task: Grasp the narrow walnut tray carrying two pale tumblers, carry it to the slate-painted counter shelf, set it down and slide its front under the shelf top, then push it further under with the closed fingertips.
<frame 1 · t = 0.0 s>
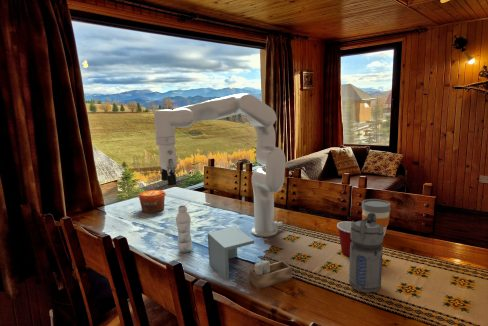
hand: (168, 182, 136), 31 cm above the table, fingers open, 9 cm apart
beverage bottle: (365, 285, 114), on the table
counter: (231, 267, 129), on the table
food container: (153, 210, 201), on the table
plastic cup: (349, 253, 137), on the table
reusable coffee cup: (374, 233, 156), on the table
plastic bottle: (185, 251, 144), on the table
tray: (271, 280, 118), on the table
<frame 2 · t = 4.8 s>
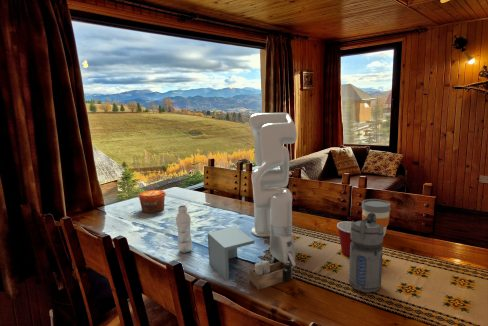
hand: (281, 275, 120), 1 cm above the table, fingers closed on tray, 6 cm apart
tray: (271, 280, 118), on the table, touching gripper
everything else where it was.
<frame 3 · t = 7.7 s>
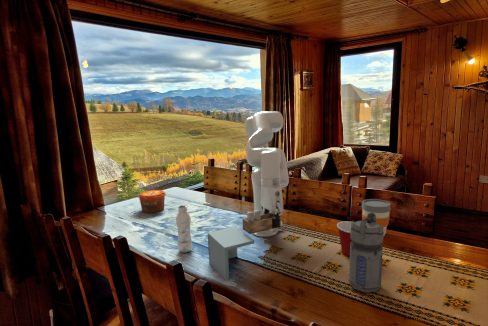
hand: (271, 224, 134), 14 cm above the table, fingers closed on tray, 6 cm apart
tray: (261, 228, 132), point 13 cm above the table, touching gripper
everything else where it was.
when the fingers open (1 cm above the table, at t = 10.8 s): tray stays where it is, on the table.
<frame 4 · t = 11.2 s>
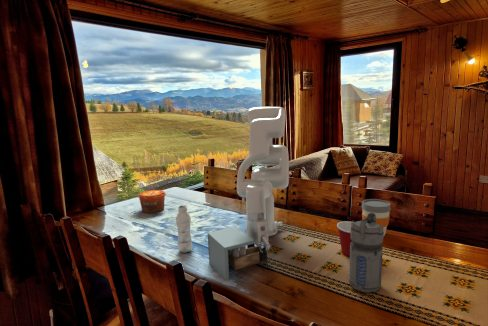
hand: (257, 255, 134), 2 cm above the table, fingers open, 9 cm apart
tray: (247, 262, 132), on the table
everything else where it was.
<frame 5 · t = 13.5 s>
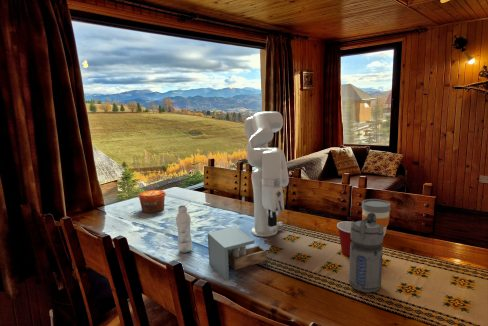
hand: (272, 225, 135), 13 cm above the table, fingers closed
nothing on the table moved.
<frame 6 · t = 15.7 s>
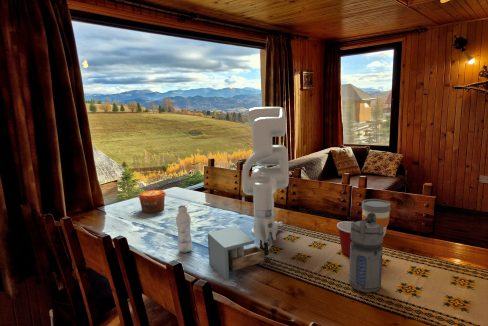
hand: (264, 255, 135), 1 cm above the table, fingers closed
tray: (245, 262, 132), on the table, touching gripper
everything else where it was.
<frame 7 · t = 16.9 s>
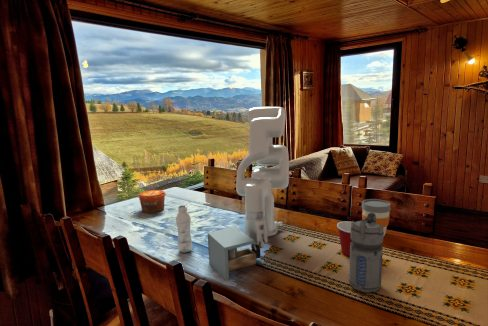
hand: (256, 257, 134), 1 cm above the table, fingers closed
tray: (236, 265, 130), on the table, touching gripper
everything else where it was.
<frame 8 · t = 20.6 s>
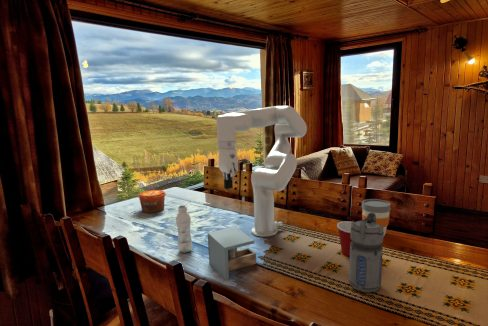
hand: (228, 188, 140), 27 cm above the table, fingers closed
tray: (236, 265, 130), on the table
everything else where it was.
at the end: tray 0.4 cm from the target spot, on the table; tray tilted 0°; the gripper is holding nothing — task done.
